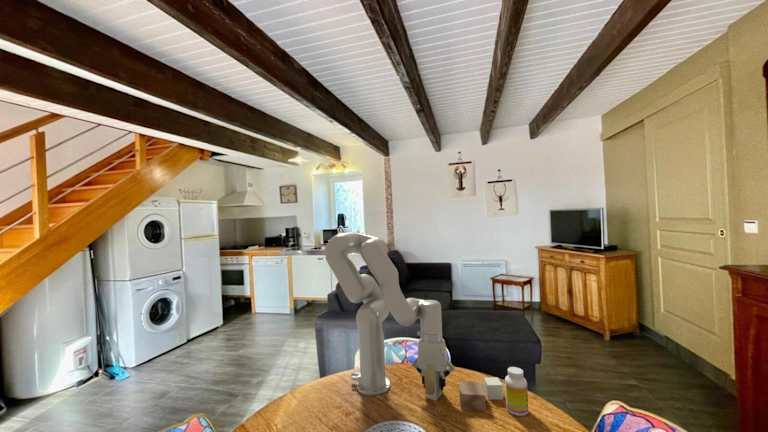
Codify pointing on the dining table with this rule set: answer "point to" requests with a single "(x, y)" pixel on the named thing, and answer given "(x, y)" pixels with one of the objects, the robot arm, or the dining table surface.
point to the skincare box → (432, 383)
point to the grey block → (493, 388)
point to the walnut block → (472, 395)
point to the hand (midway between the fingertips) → (433, 386)
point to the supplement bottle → (516, 392)
